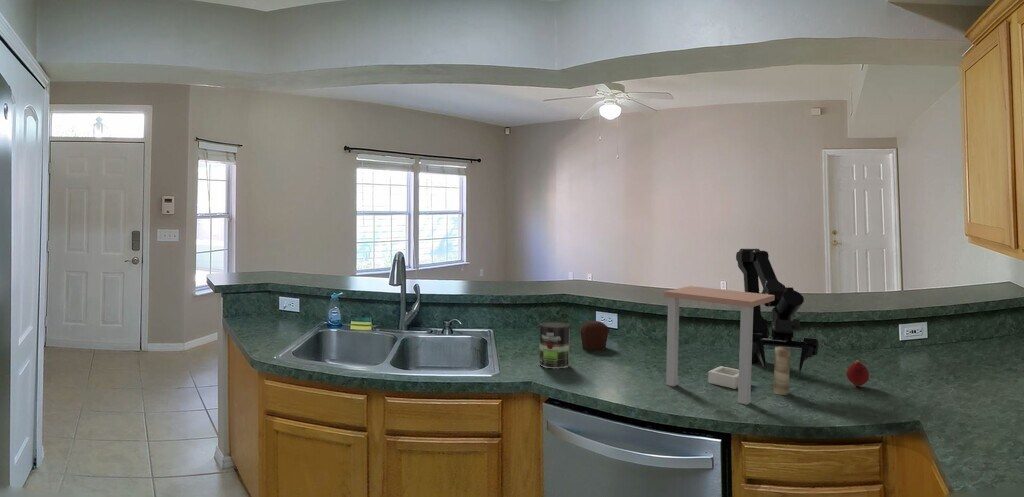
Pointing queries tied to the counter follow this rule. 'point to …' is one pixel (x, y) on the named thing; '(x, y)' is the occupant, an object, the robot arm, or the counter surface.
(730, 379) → the socket
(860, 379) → the onion
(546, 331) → the coffee can
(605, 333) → the muffin
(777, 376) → the peg
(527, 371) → the counter surface
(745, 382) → the pink topped table
